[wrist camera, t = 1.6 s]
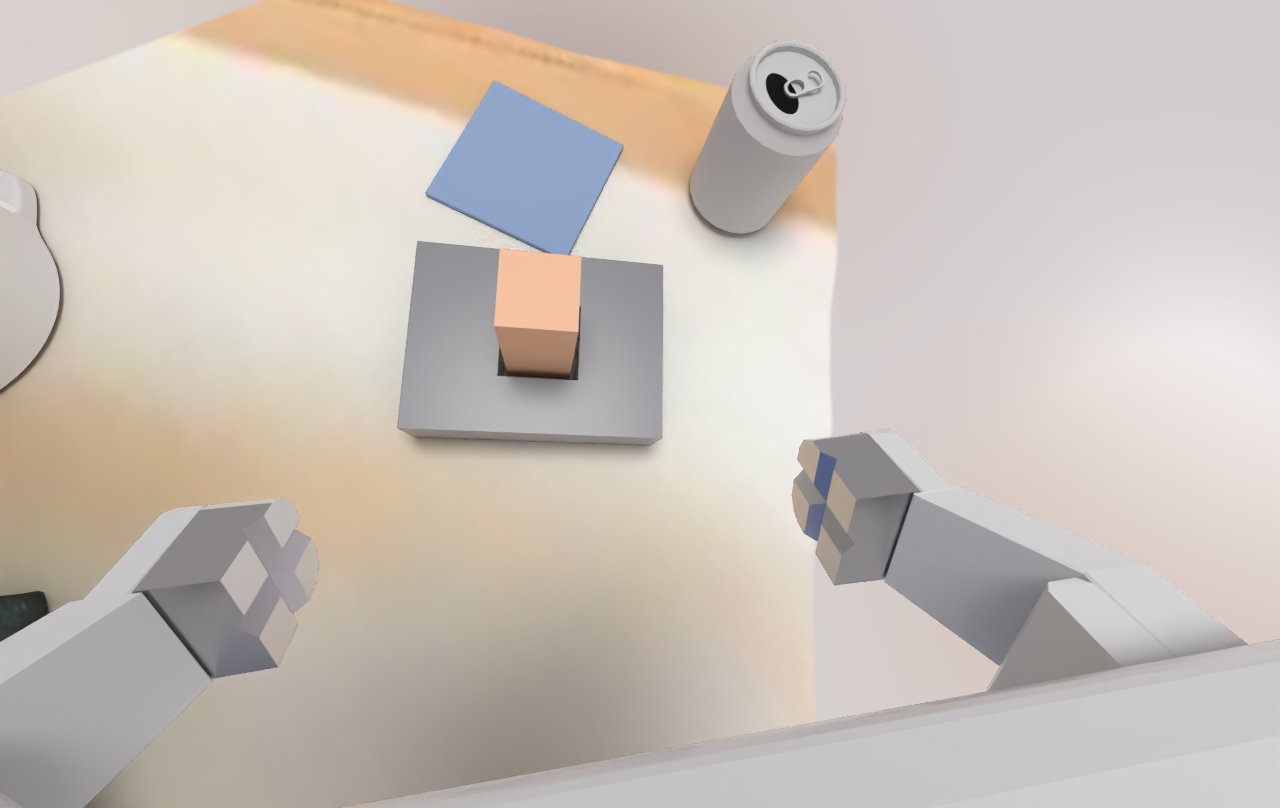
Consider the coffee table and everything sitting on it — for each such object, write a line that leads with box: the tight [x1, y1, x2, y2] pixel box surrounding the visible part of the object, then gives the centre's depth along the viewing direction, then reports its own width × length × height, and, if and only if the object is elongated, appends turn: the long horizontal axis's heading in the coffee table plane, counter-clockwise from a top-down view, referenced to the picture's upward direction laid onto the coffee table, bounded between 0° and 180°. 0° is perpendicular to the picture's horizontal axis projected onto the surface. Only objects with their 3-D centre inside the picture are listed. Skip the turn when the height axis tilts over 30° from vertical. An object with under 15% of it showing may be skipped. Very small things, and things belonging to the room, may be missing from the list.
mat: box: [426, 81, 624, 255], centre depth 39 cm, size 11×11×1 cm
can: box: [690, 40, 846, 234], centre depth 37 cm, size 8×8×12 cm
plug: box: [494, 249, 581, 380], centre depth 31 cm, size 4×4×12 cm
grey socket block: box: [397, 241, 663, 445], centre depth 35 cm, size 16×12×4 cm
